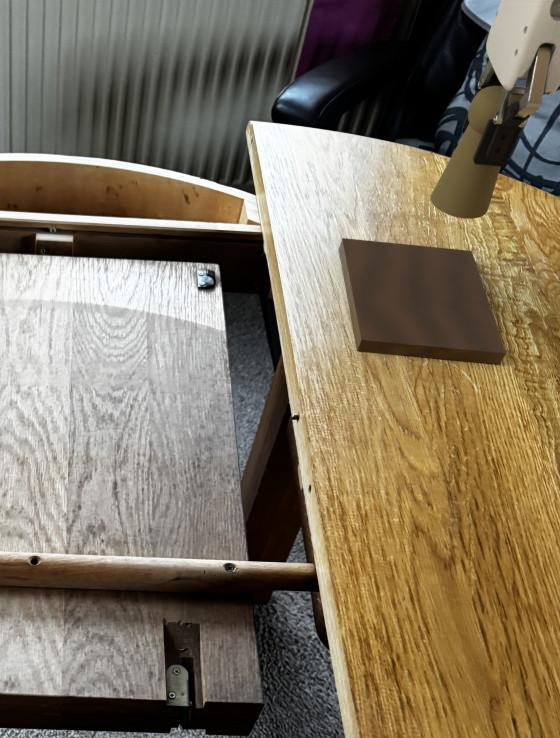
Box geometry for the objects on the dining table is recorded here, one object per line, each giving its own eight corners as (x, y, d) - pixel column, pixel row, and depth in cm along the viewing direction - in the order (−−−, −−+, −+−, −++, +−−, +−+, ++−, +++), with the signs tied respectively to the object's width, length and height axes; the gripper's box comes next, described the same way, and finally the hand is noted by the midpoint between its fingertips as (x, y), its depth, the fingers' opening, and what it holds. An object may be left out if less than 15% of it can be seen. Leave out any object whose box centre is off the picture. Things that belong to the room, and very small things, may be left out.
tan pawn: (426, 209, 96) (469, 97, 87) (434, 182, 100) (477, 72, 91) (484, 224, 95) (534, 113, 86) (490, 196, 99) (539, 86, 90)
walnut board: (467, 261, 114) (472, 250, 113) (500, 364, 103) (506, 353, 101) (338, 249, 114) (342, 237, 113) (357, 351, 102) (361, 339, 101)
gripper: (646, -25, 73) (539, 197, 88) (589, -99, 83) (500, 111, 98) (553, -35, 73) (461, 190, 88) (506, -108, 83) (430, 104, 98)
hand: (482, 146), depth 93 cm, fingers closed on tan pawn, 5 cm apart
